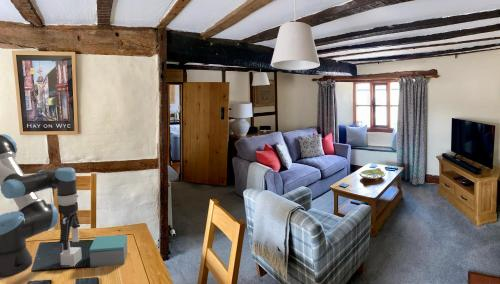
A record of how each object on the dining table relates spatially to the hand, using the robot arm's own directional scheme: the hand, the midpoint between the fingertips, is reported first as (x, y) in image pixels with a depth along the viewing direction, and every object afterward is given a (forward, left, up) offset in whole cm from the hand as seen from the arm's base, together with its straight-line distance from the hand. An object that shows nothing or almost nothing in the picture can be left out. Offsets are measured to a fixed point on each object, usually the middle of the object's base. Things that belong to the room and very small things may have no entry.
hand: (71, 248), depth 142 cm
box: (+16, 0, -7) cm, 17 cm away
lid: (+16, 0, +1) cm, 16 cm away
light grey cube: (0, 0, -7) cm, 7 cm away
